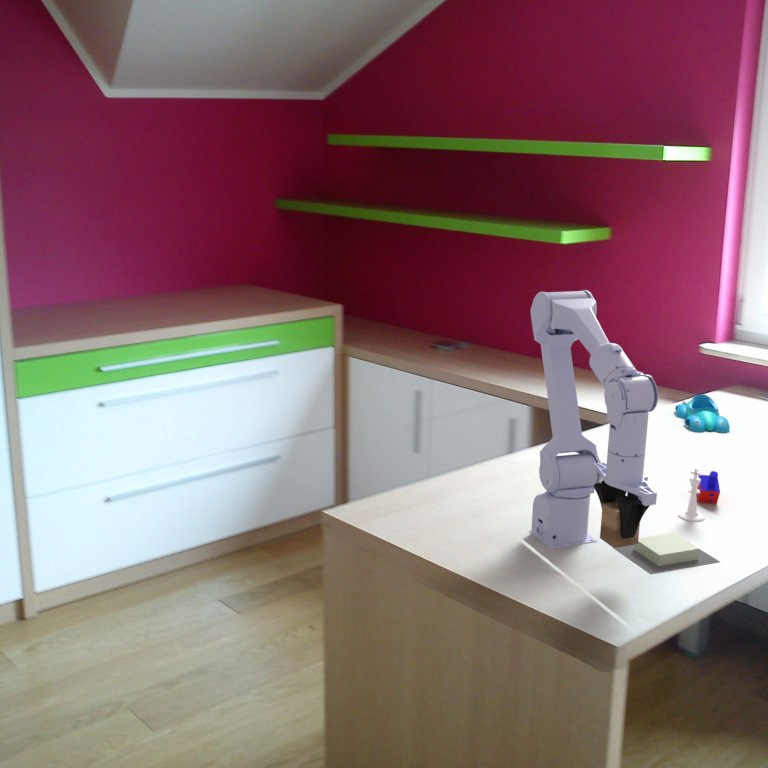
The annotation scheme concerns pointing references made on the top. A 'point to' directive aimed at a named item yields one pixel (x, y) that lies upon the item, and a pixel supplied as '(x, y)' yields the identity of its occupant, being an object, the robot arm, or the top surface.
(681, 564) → the build mat
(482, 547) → the top surface
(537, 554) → the top surface
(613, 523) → the walnut snap block
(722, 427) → the toy car
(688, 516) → the chess piece
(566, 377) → the robot arm
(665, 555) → the base block
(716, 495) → the toy building block
